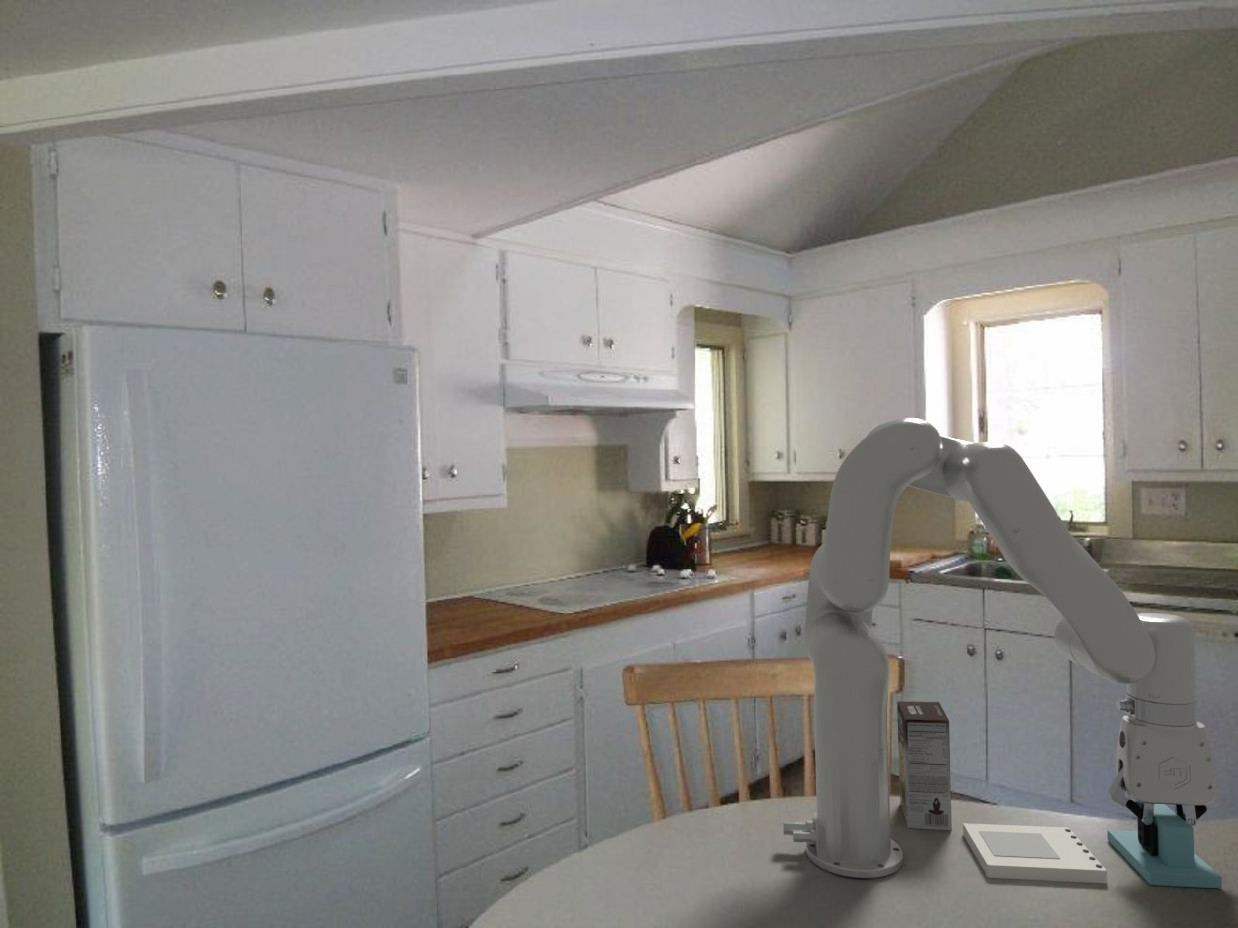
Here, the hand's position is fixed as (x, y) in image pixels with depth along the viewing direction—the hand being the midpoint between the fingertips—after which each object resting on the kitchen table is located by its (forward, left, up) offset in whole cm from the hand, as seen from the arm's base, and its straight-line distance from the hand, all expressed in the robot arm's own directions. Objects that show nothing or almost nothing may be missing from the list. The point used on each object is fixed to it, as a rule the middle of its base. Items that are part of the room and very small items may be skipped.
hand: (1165, 850), depth 105 cm
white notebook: (-16, 0, -2) cm, 17 cm away
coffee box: (-27, +12, -2) cm, 30 cm away
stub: (0, 0, -2) cm, 2 cm away
